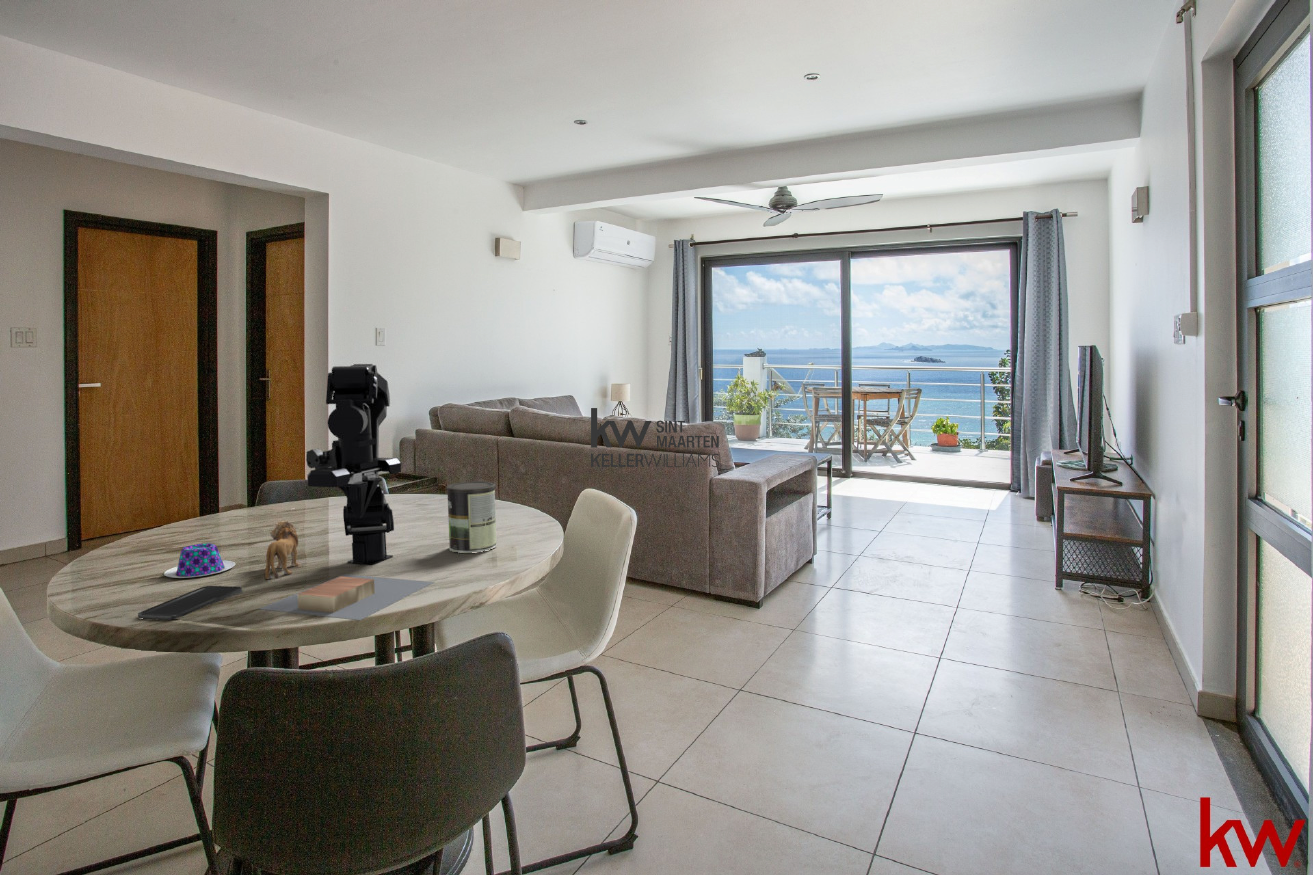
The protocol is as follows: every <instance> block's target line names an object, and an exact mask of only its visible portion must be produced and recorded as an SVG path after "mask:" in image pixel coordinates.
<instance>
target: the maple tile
mask: <svg viewBox="0 0 1313 875" xmlns="http://www.w3.org/2000/svg"><path fill="white" fill-rule="evenodd" d="M339 576H340V577H338V576H337V577H338V578H336V577H335V578H336V579H334V578H332V579H333V580H331V579H330V580H331V581H329V580H327V581H328V582H326V581H325V582H326V583H324V582H322V583H323V584H321V583H320V584H321V585H319V584H317V585H318V586H316V585H315V586H316V587H314V586H312V587H313V588H311V587H310V588H311V589H309V588H307V589H308V590H306V589H305V590H306V591H304V590H303V591H304V592H301V591H300V592H301V593H299V592H298V593H299V594H297V596H298V609H304V610H313V611H322V612H332V613H334V612H336V611H338V610H340V609H343V608H345V607H347V606H349V605H351V604H353V603H355V602H357V601H360V600H362V599H364V598H366V597H368V596H370V595H372V594H374V593H375V589H374V579H365V578H354V577H342V576H341V575H339Z"/></svg>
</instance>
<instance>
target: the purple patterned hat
mask: <svg viewBox="0 0 1313 875" xmlns="http://www.w3.org/2000/svg"><path fill="white" fill-rule="evenodd" d="M218 548H219V547H218V546H217V545H216V544H212V543H210V542H209V543H208V542H207V543H198V544H197V543H196V544H191V545H188V546H184V547H182V548H181V550H180V554H179V559H178V564H177V566H175V567H172V568H170V569H167V570H165V571H164V572H163V575H164V576H166V577H168V578H173V579H174V578H178V579H185V578H186V579H187V578H188V579H189V578H199V577H204V576H210V575H214V574H219V573H222V572H226V571H227V570H230V569H232V568H234V567H235V565H236V562H234V561H231V560H224V559H223V558H222V557H221V553H220V551H219V549H218Z"/></svg>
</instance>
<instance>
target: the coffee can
mask: <svg viewBox="0 0 1313 875" xmlns="http://www.w3.org/2000/svg"><path fill="white" fill-rule="evenodd" d="M495 488H496V483H494V482H491V481H484V480H483V481H480V480H478V481H461V482H455V483H451V484H447V486H446V491H447V511H448V512H447V513H448V517H447V518H448V536H449V537H448V538H449V539H448V540H449V551H450V552H451V551H452V552H451V553H454V552H458V553H457V554H459V553H472V552H481V551H485V550H489V549H491V548H494V547H495V546H496V544H497V521H496V518H497V517H496V516H497V515H496V496H495V495H496V494H495V493H496V491H495Z"/></svg>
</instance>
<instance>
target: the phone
mask: <svg viewBox="0 0 1313 875" xmlns="http://www.w3.org/2000/svg"><path fill="white" fill-rule="evenodd" d="M242 588H243V587H241V586H228V585H227V586H226V585H205V586H201V587H199V588H196V589H194V590H192V591H190V592H189V591H188V592H186V593H184V594H181V595H179V596H177V597H174V598H171V599H169V600H167V601H164V602H162V603H160V604H157V605H155V606H152V607H150V608H147V609H145V610H142V611H140V612H137V617H138V618H143V619H142V620H146V619H158V620H157V621H170V622H172V621H179V620H181V619H180V618H181V617H184V616H187V615H189V614H191V613H193V612H195V611H198V610H200V609H202V608H205V607H207V606H209V605H212V604H215V603H218V602H220V601H223V600H226V599H229V598H231V597H234V596H237V595H239V594H241V593H243V589H242Z"/></svg>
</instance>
